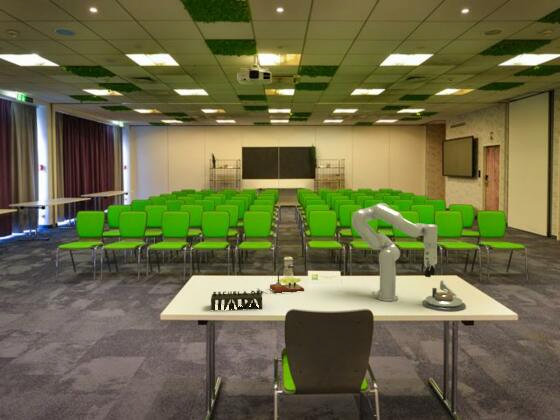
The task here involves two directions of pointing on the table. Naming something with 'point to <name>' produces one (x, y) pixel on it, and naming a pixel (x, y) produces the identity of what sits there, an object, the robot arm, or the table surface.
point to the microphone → (284, 288)
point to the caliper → (445, 287)
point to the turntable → (443, 299)
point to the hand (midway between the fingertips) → (429, 275)
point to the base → (444, 307)
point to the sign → (235, 297)
